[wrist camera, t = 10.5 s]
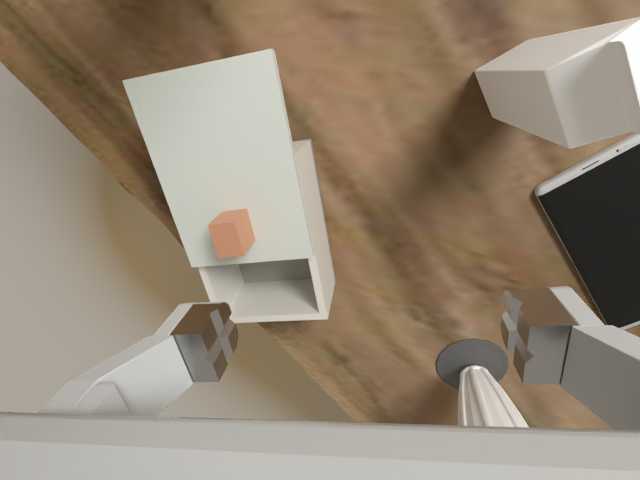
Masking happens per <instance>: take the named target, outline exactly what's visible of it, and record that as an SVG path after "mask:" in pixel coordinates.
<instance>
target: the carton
mask: <svg viewBox="0 0 640 480" xmlns="http://www.w3.org/2000/svg"><path fill="white" fill-rule="evenodd" d="M292 142H293V147H294V152H295V157H296V162H297V168H298V173H299V178H300V183H301V188H302V193H303V198H304V203H305V208H306V213H307V218H308V223H309V228H310V233H311V238H312V243H313V248H314V253H315V254H314V257H313V258H305V259H292V260H280V261H267V262H255V263H242V264H230V265H217V266H205V267H198V270H199V272H200V275H201V278H202V281H203V283H204V286H205V289H206V292H207V294H208V297H209V300H210V302H226V303H228V304H229V306H230V309H231V312H232V313H231V315H230V317H229V319H230V320H232V321H233V322H234V323H246V322H271V321H295V320H319V319H328V316H329V311H330V306H331V301H332V296H333V291H334V286H335V281H336V277H335V271H334V266H333V260H332V254H331V248H330V243H329V237H328V231H327V226H326V220H325V214H324V208H323V203H322V197H321V191H320V185H319V180H318V174H317V168H316V163H315V157H314V151H313V145H312V140H311V138H309V139H303V140H296V141H292Z"/></svg>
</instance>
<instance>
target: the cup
mask: <svg viewBox="0 0 640 480" xmlns="http://www.w3.org/2000/svg"><path fill="white" fill-rule="evenodd" d="M436 367H437V373H438V374H439V376H440V377H441V378H442V379H443V381H444V382H446V383H448V384H450V385H451V386H453V387H455V388H459V394H458V425H462V426H494V427H528V425H527V424H526V422H525V420H524V419H523V417H522V416H521V414H520V413H519V411H518V410H517V408H516V407H515V405H514V404H513V403H512V401H511V400H510V398H509V397H508V396H507V394H506V393H505V391H504V390H503V388H502V387H501V386H500V385H499V384H498V383H497V382H498V381H499V380H500V379H502V378H503V376H504V374H505V373H506V371H507V369H508V359H507V357H506V355H505V354H504V352H503V351H502V349H501V348H499V347H497V346H496V345H494V344H492V343H491V342H488V341H483V340H478V339H471V340H461V341H459V342H456V343H454V344H451V345H449V346H448V347H447V348H445V349H444V350H443V351H442V352H441V353H440V355H439V357H438V360H437V362H436Z"/></svg>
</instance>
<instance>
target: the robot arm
mask: <svg viewBox="0 0 640 480" xmlns="http://www.w3.org/2000/svg"><path fill="white" fill-rule="evenodd" d="M502 303H503V305H504V307H505V309H506V312H505V313H504V314H503V315H502V316H501V332H502V338H503V341H504V344H505V346H506V349H507V351H509V352H510V353H512V354H513V355H514V360H513V364H514V366H515V368H516V370H517V372H518V374H519V376H520V379H521V381H522V383H526V384H558V385H561V387H562V388H564V389H565V390H566V391H567V392H569V393H570V394H571V395H572V396H574V397H575V398H576V399H577V400H579V401H580V402H581V403H582V404H584V405H585V406H586V407H587V408H589V409H590V410H591V411H592V412H594V413H595V414H596V415H597V416H599V417H600V418H601V419H602V420H604V421H605V422H606V423H607V424H609V425H610V426H611V427H612V428H614V429H615V430H605V429H570V428H530V427H494V426H462V425H429V424H397V423H363V422H327V421H290V420H287V421H286V420H255V419H253V420H252V419H218V418H185V417H156V416H157V415H159V414H160V413H161V412H162V411H163V410H164V409H165V408H167V407H168V406H169V405H170V404H171V403H172V402H173V401H174V400H175V399H177V398H178V397H179V396H180V395H181V394H182V393H183V392H184V391H186V390H187V389H188V388H189V387H190V386H191V385H192V384H193V382H218V381H220V379H221V377H222V375H223V373H224V371H225V369H226V367H227V365H228V364H227V361H226V358H228V357H229V356H231V355H232V354H233V353H234V351H235V349H236V346H237V341H238V332H237V328H236V324H235V323H234V322H233V321H232V320H230V319H229V317H230V315H231V313H232V312H231V309H230V306H229V304H228V303H226V302H198V303H195V302H194V303H182V304H179V306H178V307H177V308H176V309H175V310H174V311H173V313H172V314H171V315H170V316H169V317H168V319H167V320H166V321H165V322H164V323H163V324H162V326H161V327H160V328H159V329H158V330H157V331H156V333H155V334H154V335H153V336H147V337H146V338H144V339H142V340H140V341H139V342H137V343H135V344H134V345H132V346H130V347H128V348H126V349H124V350H123V351H121V352H119V353H117V354H115V355H114V356H112V357H110V358H108V359H107V360H105V361H103V362H101V363H99V364H98V365H96V366H94V367H92V368H91V369H89V370H87V371H85V372H84V373H82V374H80V375H78V376H76V377H75V378H73V379H71V380H70V381H68V382H67V383H66V384H65V385H64V386H63V387H62V388H61V389H60V390H59V391H58V392H57V393H56V394H55V395H54V396H53V397H52V399H50V400H49V401H48V402H47V403H46V405H44V407H42V408H41V409H40V411H39V412H38V413H13V412H0V480H640V337H637V336H635V335H633V334H631V333H628V332H626V331H624V330H622V329H619V328H617V327H615V326H613V325H604V324H603V323H602V321H601V320H600V319H599V318H598V317H597V316H596V315H595V314H594V313H593V311H592V310H591V309H590V308H589V307H588V306H587V305H586V304H585V303H584V302H583V300H582V299H581V298H580V297H579V296H578V295H577V294H576V293H575V292H574V290H573V289H572V288H570V287H568V286H558V287H546V288H534V289H516V290H505V291H504V294H503V301H502Z"/></svg>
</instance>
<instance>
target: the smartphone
mask: <svg viewBox="0 0 640 480" xmlns="http://www.w3.org/2000/svg"><path fill="white" fill-rule="evenodd" d="M534 193H535V195H536V197H537V199H538V201H539V202H540V204H541V206H542V208H543V210H544V212H545V213H546V215H547V218H548V219H549V221H550V223H551V225H552V226H553V228H554V230H555V232H556V234H557V236H558V238H559V239H560V241H561V243H562V244H563V246H564V248H565V250H566V252H567V254H568V256H569V258H570V259H571V261H572V263H573V265H574V266H575V268H576V270H577V272H578V274H579V276H580V277H581V279H582V281H583V283H584V285H585V287H586V288H587V290H588V292H589V294H590V296H591V297H592V299H593V301H594V303H595V305H596V307H597V308H598V310H599V312H600V314H601V316H602V318H603V319H604V321H605V323H606V325H613V326H615V327H617V328H619V329H622V330H625V329H627V328H630V327H633V326H636V325H639V324H640V134H637V133H633V134H631V135H629V136H627V137H626V138H624V139H622V140H620V141H618V142H616V143H614V144H613V145H611V146H609V147H607V148H605V149H603V150H602V151H600V152H598V153H596V154H594V155H592V156H591V157H589V158H587V159H585V160H583V161H581V162H579V163H578V164H576V165H574V166H572V167H570V168H568V169H567V170H565V171H563V172H561V173H559V174H557V175H555V176H554V177H552V178H550V179H548V180H546V181H544V182H543V183H541V184H539V185H537V186H536V188H535V190H534Z"/></svg>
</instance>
